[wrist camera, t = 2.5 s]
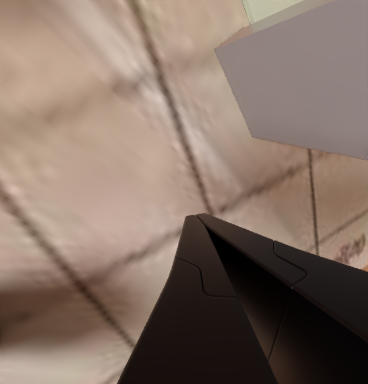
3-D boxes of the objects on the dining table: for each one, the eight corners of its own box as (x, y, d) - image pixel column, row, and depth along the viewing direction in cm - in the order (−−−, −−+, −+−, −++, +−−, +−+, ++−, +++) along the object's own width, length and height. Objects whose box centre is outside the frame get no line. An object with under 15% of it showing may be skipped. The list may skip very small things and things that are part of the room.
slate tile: (252, 137, 24) (429, 172, 12) (213, 49, 19) (441, -43, 7) (275, 117, 24) (472, 132, 12) (243, 26, 19) (510, -99, 7)
